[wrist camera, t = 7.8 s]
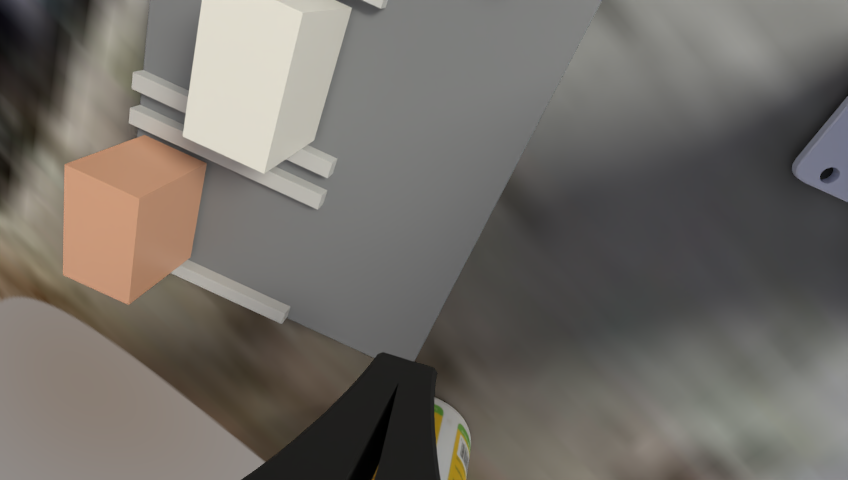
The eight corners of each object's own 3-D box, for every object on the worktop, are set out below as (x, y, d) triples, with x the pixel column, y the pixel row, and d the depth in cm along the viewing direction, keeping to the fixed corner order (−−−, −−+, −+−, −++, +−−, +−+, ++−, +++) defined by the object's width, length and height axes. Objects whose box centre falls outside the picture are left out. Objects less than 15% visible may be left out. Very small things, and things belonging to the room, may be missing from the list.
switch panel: (754, -312, 12) (838, -431, 9) (418, 343, 23) (397, 404, 19) (257, -537, 12) (147, -742, 9) (158, 225, 23) (93, 265, 19)
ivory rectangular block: (352, 7, 15) (303, 12, 12) (314, 140, 17) (264, 173, 14) (275, -28, 15) (206, -32, 12) (247, 109, 17) (182, 136, 14)
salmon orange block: (207, 163, 18) (139, 198, 15) (190, 257, 20) (128, 304, 17) (144, 134, 18) (64, 164, 15) (134, 231, 20) (63, 274, 17)
